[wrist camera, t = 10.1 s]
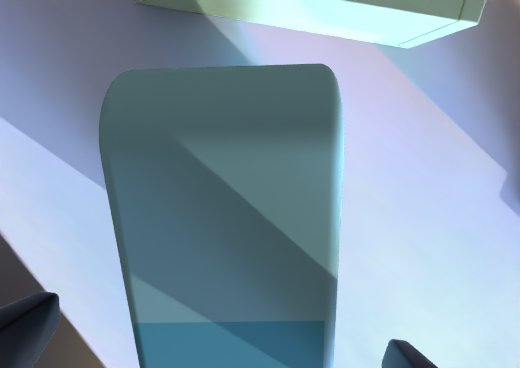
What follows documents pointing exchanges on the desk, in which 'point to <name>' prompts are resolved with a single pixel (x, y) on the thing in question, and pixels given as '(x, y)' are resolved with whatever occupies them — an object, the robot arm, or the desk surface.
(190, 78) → the data package
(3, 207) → the desk surface
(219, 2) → the open green box
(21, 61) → the desk surface
